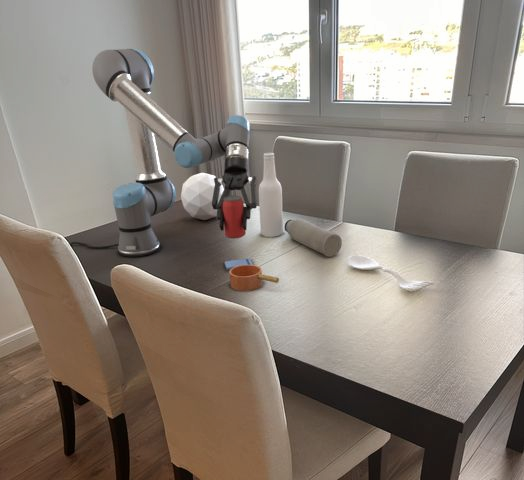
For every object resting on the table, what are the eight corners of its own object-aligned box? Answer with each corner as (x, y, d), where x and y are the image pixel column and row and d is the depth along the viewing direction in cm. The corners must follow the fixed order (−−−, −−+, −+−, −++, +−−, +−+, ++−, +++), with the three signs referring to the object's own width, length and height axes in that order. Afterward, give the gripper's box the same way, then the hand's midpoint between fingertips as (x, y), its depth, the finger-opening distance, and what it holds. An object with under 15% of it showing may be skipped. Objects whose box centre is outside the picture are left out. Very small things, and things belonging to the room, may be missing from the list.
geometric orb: (211, 236, 216) (203, 207, 198) (177, 215, 222) (166, 185, 203) (237, 206, 221) (231, 176, 203) (203, 187, 227) (195, 155, 208)
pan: (224, 286, 151) (222, 273, 149) (242, 275, 158) (241, 262, 156) (250, 293, 146) (249, 279, 144) (268, 281, 153) (268, 267, 151)
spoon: (410, 299, 137) (412, 288, 136) (340, 265, 162) (341, 255, 160) (433, 291, 141) (435, 280, 139) (362, 259, 165) (362, 249, 163)
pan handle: (256, 279, 148) (256, 274, 147) (259, 277, 149) (259, 272, 148) (276, 283, 144) (276, 278, 144) (279, 281, 146) (279, 276, 145)
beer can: (230, 240, 152) (227, 201, 146) (222, 235, 158) (218, 197, 151) (249, 236, 155) (246, 198, 149) (240, 231, 160) (237, 193, 154)
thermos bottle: (345, 243, 169) (302, 224, 191) (334, 229, 164) (290, 210, 186) (330, 261, 170) (288, 240, 191) (318, 247, 164) (277, 227, 186)
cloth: (224, 263, 168) (224, 261, 168) (249, 260, 169) (249, 258, 169) (226, 270, 163) (226, 267, 163) (252, 266, 164) (252, 264, 164)
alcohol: (287, 232, 194) (285, 151, 179) (275, 238, 188) (272, 156, 173) (268, 229, 199) (265, 150, 183) (256, 235, 192) (252, 154, 177)
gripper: (204, 156, 154) (199, 222, 149) (265, 154, 152) (263, 221, 147) (209, 170, 161) (204, 234, 156) (267, 168, 159) (265, 233, 154)
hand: (233, 228), depth 151 cm, fingers closed on beer can, 7 cm apart
